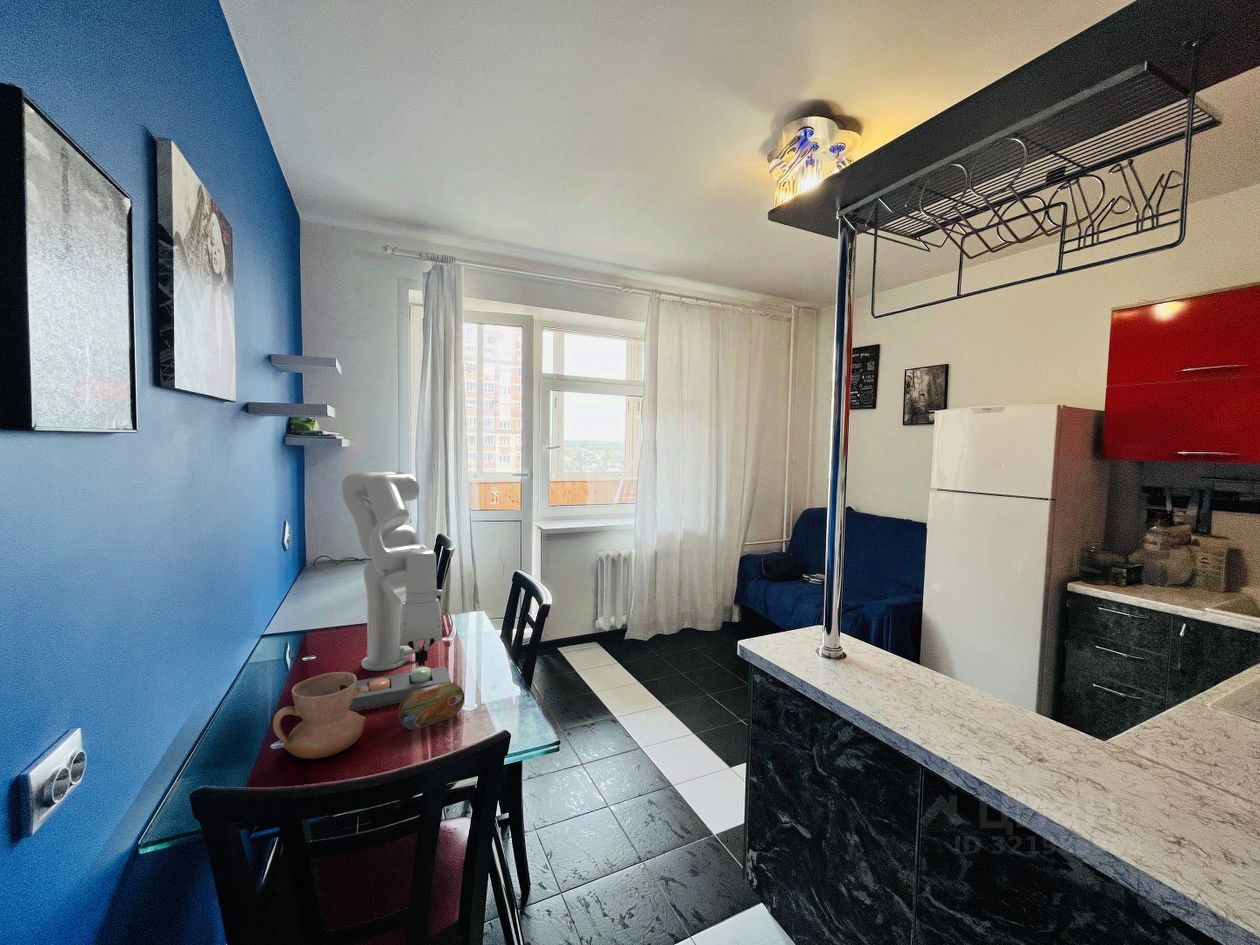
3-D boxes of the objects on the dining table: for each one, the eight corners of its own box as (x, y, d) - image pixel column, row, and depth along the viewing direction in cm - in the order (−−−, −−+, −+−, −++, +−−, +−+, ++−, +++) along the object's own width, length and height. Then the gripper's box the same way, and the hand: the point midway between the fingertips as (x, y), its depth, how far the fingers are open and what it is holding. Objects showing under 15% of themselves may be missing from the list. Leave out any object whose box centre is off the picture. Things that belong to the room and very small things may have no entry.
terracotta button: (389, 687, 137) (389, 676, 137) (389, 695, 133) (389, 684, 132) (368, 691, 135) (368, 680, 135) (369, 699, 130) (369, 688, 130)
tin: (400, 735, 118) (400, 699, 117) (396, 728, 120) (396, 693, 120) (464, 714, 127) (465, 681, 127) (459, 709, 130) (460, 676, 129)
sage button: (429, 676, 141) (429, 665, 141) (431, 683, 137) (431, 672, 137) (410, 679, 139) (410, 668, 139) (411, 687, 135) (411, 676, 135)
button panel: (445, 678, 146) (445, 666, 146) (450, 693, 137) (450, 681, 137) (349, 695, 135) (349, 681, 135) (348, 713, 126) (347, 699, 126)
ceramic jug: (363, 719, 123) (361, 661, 123) (376, 748, 112) (375, 684, 111) (271, 746, 112) (269, 683, 112) (276, 781, 101) (274, 710, 100)
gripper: (448, 589, 144) (448, 654, 144) (389, 595, 137) (389, 663, 138) (452, 596, 137) (452, 664, 138) (390, 603, 130) (391, 675, 131)
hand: (421, 664), depth 138 cm, fingers closed
